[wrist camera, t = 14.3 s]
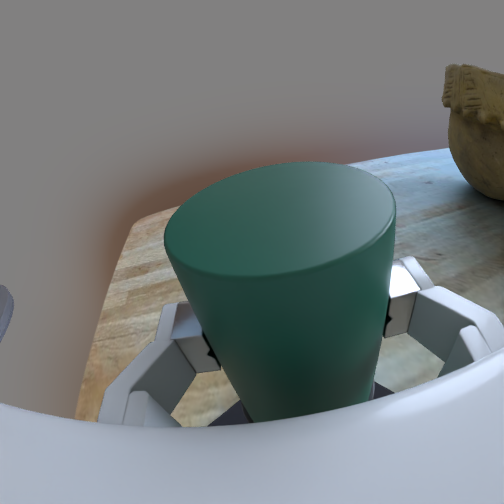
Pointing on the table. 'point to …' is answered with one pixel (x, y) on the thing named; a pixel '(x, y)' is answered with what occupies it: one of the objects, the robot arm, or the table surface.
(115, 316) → the table surface
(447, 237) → the table surface
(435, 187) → the table surface
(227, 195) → the thermos cap
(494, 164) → the clay pot
